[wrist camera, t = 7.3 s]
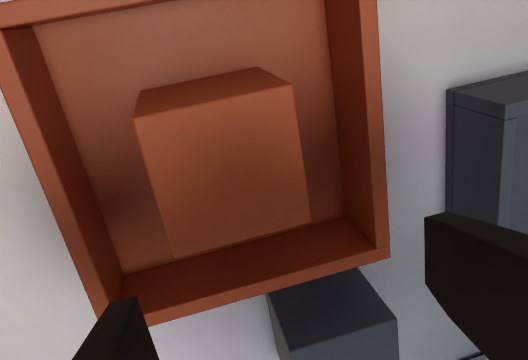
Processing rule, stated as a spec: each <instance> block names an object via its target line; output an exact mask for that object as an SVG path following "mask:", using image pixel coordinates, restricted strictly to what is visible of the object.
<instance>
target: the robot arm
mask: <svg viewBox="0 0 528 360" xmlns="http://www.w3.org/2000/svg"><path fill="white" fill-rule="evenodd" d="M424 237H425V284H426V286H427V287H428V288H429V290H430V291H431V293H432V294H433V296H434V297H435V299H436V300H437V301H438V303H439V304H440V306H441V307H442V308H443V310H444V311H445V312H446V314H447V315H448V316H449V317H450V319H451V320H452V321H453V322H454V323H455V324H456V325H457V326H458V327H459V328H460V329H461V331H462V332H463V333H464V334H465V335H466V336H467V337H468V338H469V339H470V340H471V341H472V342H473V343H474V345H475V346H476V347H477V348H478V349H479V350H480V351H481V352H482V353H483V354H484V355H481V356H478V357H475V358H472V359H469V360H528V234H525V233H522V232H519V231H515V230H512V229H508V228H505V227H502V226H498V225H495V224H492V223H488V222H485V221H482V220H478V219H474V218H471V217H467V216H464V215H460V214H455V213H451V212H443V213H439V214H436V215H432V216H428V217H425V218H424ZM72 360H159V358H158V355H157V352H156V349H155V346H154V344H153V341H152V338H151V335H150V332H149V330H148V327H147V324H146V321H145V318H144V316H143V313H142V310H141V307H140V304H139V301H138V299H137V296H133V297H129V298H126V299H122V300H118V301H115V302H111V303H109V304H108V306H107V307H106V309H105V310H104V312H103V313H102V315H101V316H100V318H99V319H98V321H97V322H96V324H95V325H94V327H93V328H92V330H91V331H90V333H89V335H88V336H87V338H86V339H85V341H84V342H83V344H82V345H81V347H80V348H79V350H78V351H77V353H76V354H75V356H74V357H73V359H72Z"/></svg>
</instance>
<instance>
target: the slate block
mask: <svg viewBox="0 0 528 360" xmlns="http://www.w3.org/2000/svg"><path fill="white" fill-rule="evenodd" d="M266 297H267V302H268V306H269V311H270V316H271V321H272V326H273V331H274V336H275V340H276V345H277V350H278V354H279V357H280V360H399V346H398V326H397V318H396V317H395V316H394V314H393V313H392V312H391V311H390V309H389V308H388V307H387V305H386V304H385V303H384V301H383V300H382V299H381V298H380V296H379V295H378V294H377V292H376V291H375V290H374V289H373V287H372V286H371V285H370V283H369V282H368V281H367V279H366V278H365V277H364V276H363V274H362V273H361V272H360V270H359V269H358V268H357V267H355V268H352V269H348V270H345V271H341V272H338V273H335V274H331V275H328V276H324V277H321V278H317V279H314V280H310V281H307V282H303V283H300V284H296V285H293V286H289V287H286V288H282V289H279V290H275V291H272V292H268V293H266Z"/></svg>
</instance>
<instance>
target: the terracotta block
mask: <svg viewBox="0 0 528 360" xmlns="http://www.w3.org/2000/svg"><path fill="white" fill-rule="evenodd" d="M132 123H133V126H134V130H135V133H136V136H137V140H138V143H139V146H140V149H141V153H142V156H143V159H144V163H145V166H146V169H147V172H148V176H149V179H150V182H151V186H152V189H153V192H154V196H155V199H156V202H157V205H158V209H159V212H160V215H161V219H162V222H163V225H164V228H165V232H166V235H167V238H168V242H169V245H170V248H171V252H172V255H173V257H174V258H178V257H182V256H186V255H189V254H193V253H197V252H201V251H204V250H208V249H212V248H216V247H219V246H223V245H227V244H231V243H234V242H238V241H242V240H246V239H250V238H253V237H257V236H261V235H265V234H268V233H272V232H276V231H280V230H283V229H287V228H291V227H295V226H298V225H302V224H306V223H310V222H311V213H310V206H309V199H308V191H307V184H306V177H305V170H304V163H303V156H302V148H301V141H300V134H299V127H298V120H297V112H296V105H295V98H294V91H293V86H292V84H290V83H289V82H287V81H285V80H283V79H281V78H279V77H277V76H275V75H273V74H272V73H270V72H268V71H266V70H264V69H262V68H260V67H253V68H248V69H243V70H239V71H234V72H229V73H224V74H219V75H214V76H210V77H205V78H200V79H195V80H190V81H185V82H181V83H176V84H171V85H166V86H161V87H156V88H152V89H147V90H142V91H140V94H139V97H138V101H137V104H136V107H135V111H134V114H133V118H132Z"/></svg>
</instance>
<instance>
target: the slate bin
mask: <svg viewBox="0 0 528 360" xmlns="http://www.w3.org/2000/svg"><path fill="white" fill-rule="evenodd" d="M446 212H451V213H455V214H460V215H464V216H467V217H471V218H474V219H478V220H482V221H485V222H488V223H492V224H495V225H498V226H502V227H505V228H508V229H512V230H515V231H519V232H522V233H525V234H528V71H526V72H522V73H518V74H513V75H509V76H505V77H500V78H496V79H492V80H487V81H483V82H479V83H474V84H470V85H466V86H461V87H457V88H453V89H448V90H447V163H446Z"/></svg>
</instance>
